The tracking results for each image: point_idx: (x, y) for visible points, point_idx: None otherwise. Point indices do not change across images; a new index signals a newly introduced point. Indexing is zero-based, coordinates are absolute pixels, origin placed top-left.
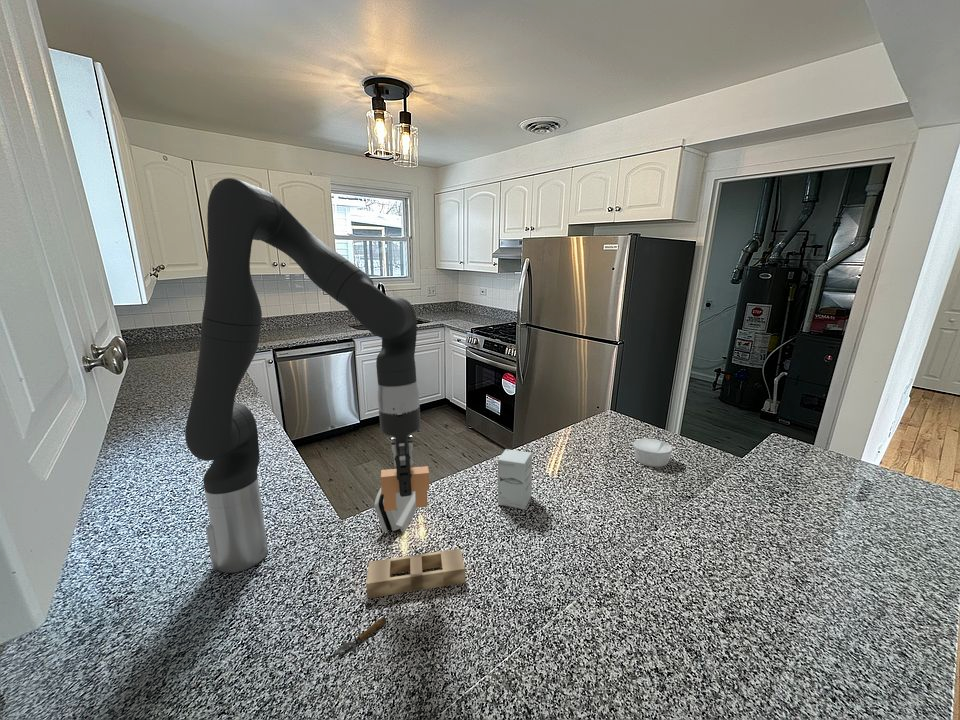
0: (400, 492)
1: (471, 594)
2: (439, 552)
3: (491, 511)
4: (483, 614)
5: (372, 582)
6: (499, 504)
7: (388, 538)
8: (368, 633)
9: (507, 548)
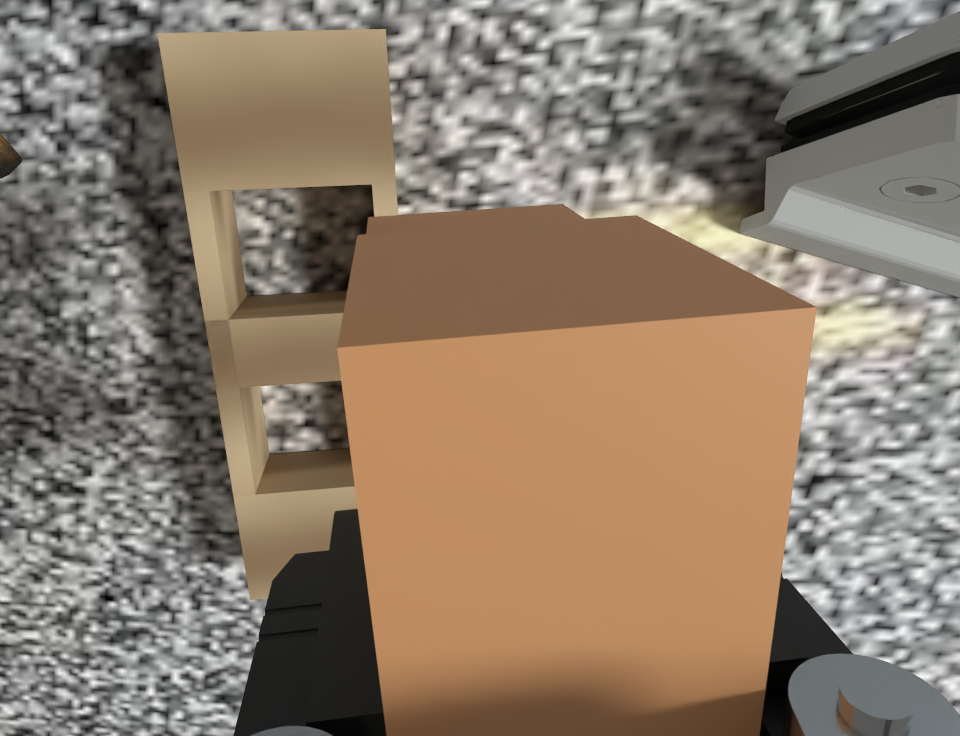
0: (335, 543)
1: (186, 572)
2: None
3: None
4: (62, 613)
5: (169, 78)
6: None
7: (718, 129)
8: None
9: None
